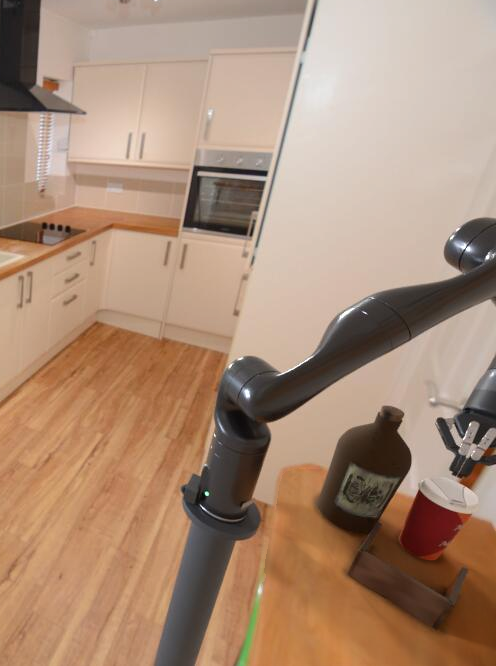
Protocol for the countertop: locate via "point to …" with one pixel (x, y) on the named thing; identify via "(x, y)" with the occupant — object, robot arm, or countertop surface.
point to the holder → (404, 585)
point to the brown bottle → (365, 472)
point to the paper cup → (436, 516)
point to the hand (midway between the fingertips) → (457, 475)
